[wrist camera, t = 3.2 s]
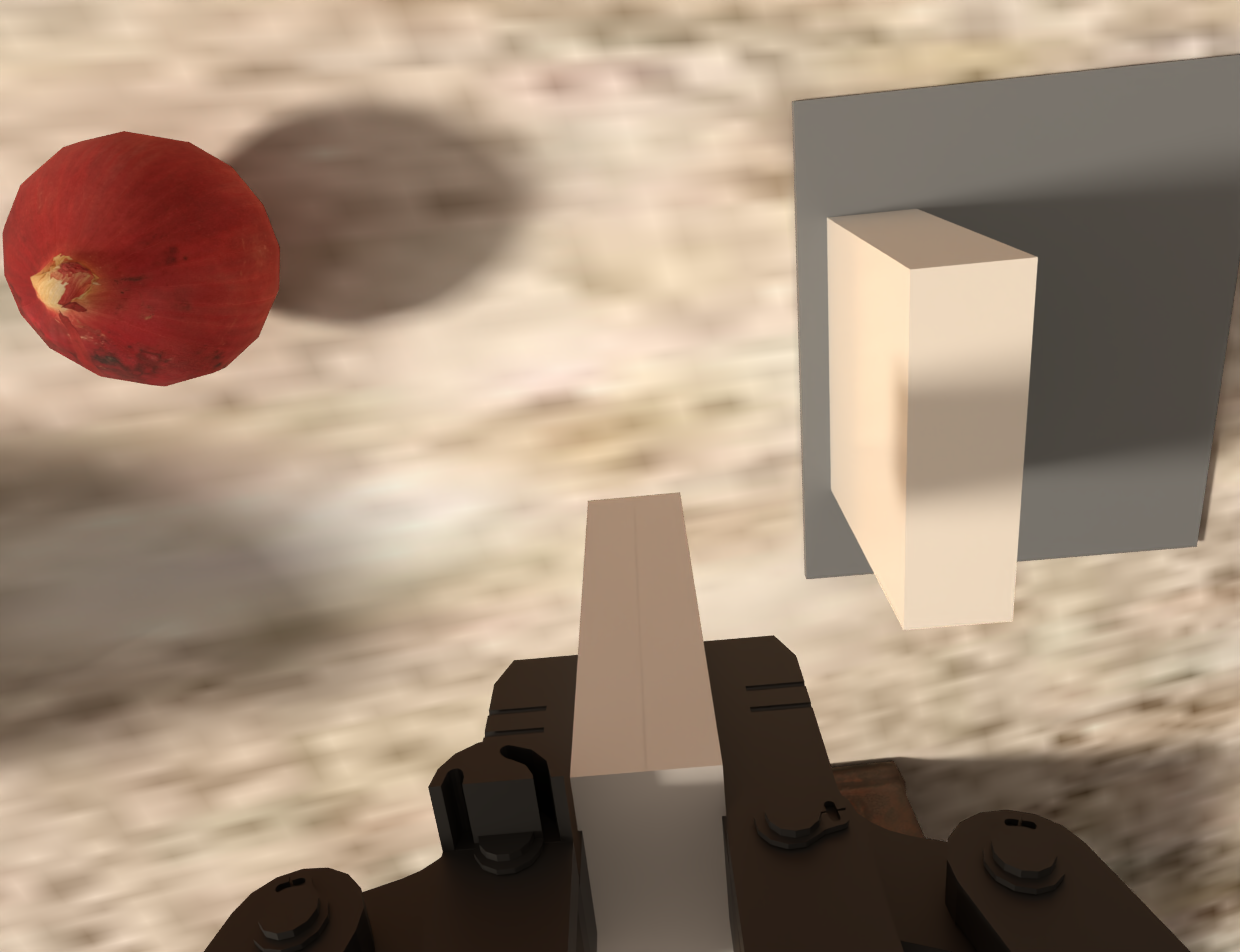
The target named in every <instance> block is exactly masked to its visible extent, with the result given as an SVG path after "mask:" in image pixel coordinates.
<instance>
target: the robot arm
mask: <svg viewBox="0 0 1240 952" xmlns="http://www.w3.org/2000/svg"><path fill="white" fill-rule="evenodd" d="M428 788H429V792H430V797H431V801H432V806H433V810H434V815H435V819H436V823H437V828H438V832H439V837H440V841H441V846H442V850H443V854H442V857H441V858H439V859H438V860H437V861H435V862H434V863H432V864H430V865H429V866H427V867H426V868H424V869H423V870H421V871H419V872H417V873H414V874H412V875H410V876H407V877H405V878H403V879H400V880H397V881H394V882H391V883H388V884H385V885H383V886H380V887H377V888H374V889H371V890H368V891H365V892H362V890H361V888H360V887H359V886H358V884H357V883H356V882H355V881H354V880H353V879H352V878H351V877H350V876H349V875H348V874H346V873H343V872H340V871H337V870H334V869H331V868H311V869H301V870H298V871H295V872H292V873H289V874H286V875H283V876H280V877H277V878H275V879H274V880H272V881H270V882H269V883H267V884H266V885H264V886H262V887H261V888H259V889H258V890H256V891H254V892H253V893H251V894H250V895H249V896H248V897H247V898H246V899H245V901H244V902H243V903H242V904H241V905H240V906H239V907H238V908H237V909H236V910H235V911H234V912H233V913H232V914H231V915H230V917H229V918H228V919H227V921H226V922H225V924H224V925H223V926H222V928H221V929H220V930H219V932H218V933H217V934H216V936H215V937H214V939H213V940H212V941H211V943H210V944H209V945H208V947H207V948H206V949H205V951H204V952H1190V951H1189V950H1188V949H1187V948H1186V947H1185V946H1184V945H1183V944H1182V943H1181V941H1180V940H1179V939H1178V938H1177V937H1176V936H1175V935H1174V934H1173V933H1172V932H1171V931H1170V930H1169V929H1168V928H1167V927H1166V926H1165V925H1164V924H1163V923H1162V922H1161V921H1160V920H1159V919H1158V918H1157V917H1156V916H1155V915H1154V914H1153V913H1152V912H1151V910H1150V909H1149V908H1148V907H1147V906H1146V905H1145V904H1144V903H1143V902H1142V901H1141V900H1140V899H1139V898H1138V897H1137V896H1136V895H1135V894H1134V893H1133V892H1132V891H1131V890H1130V889H1129V888H1128V887H1127V886H1126V885H1125V884H1124V883H1123V882H1122V881H1121V879H1120V878H1119V877H1118V876H1117V875H1116V874H1115V873H1114V872H1113V871H1112V870H1111V869H1110V868H1109V867H1108V866H1107V865H1106V864H1105V863H1104V862H1103V861H1102V860H1101V859H1100V858H1099V857H1098V856H1097V855H1096V854H1095V853H1094V852H1093V851H1092V849H1091V848H1090V847H1089V846H1088V845H1087V844H1086V843H1084V842H1083V841H1082V840H1080V839H1079V838H1078V837H1077V836H1075V835H1074V834H1073V833H1071V832H1070V831H1069V830H1067V829H1066V828H1065V827H1063V826H1062V825H1059V824H1057V823H1054V822H1052V821H1050V820H1047V819H1045V818H1043V817H1040V816H1038V815H1035V814H1030V813H1023V812H1017V811H1011V810H1000V811H991V812H982V813H979V814H977V815H975V816H973V817H970V818H968V819H966V820H964V821H962V822H960V823H959V825H958V826H957V827H956V829H955V830H954V831H953V833H952V834H951V836H950V837H949V838H948V842H943V841H938V840H932V839H926V838H920V837H914V836H909V835H905V834H901V833H898V832H894V831H890V830H887V829H885V828H883V827H881V826H878V825H876V824H874V823H872V822H870V821H868V820H867V819H866V818H864V817H863V816H861V815H860V814H858V813H857V812H856V811H855V809H854V807H853V806H852V804H851V803H850V801H849V800H848V799H847V798H845V797H844V796H842V795H841V793H840V791H839V789H838V787H837V784H836V781H835V778H834V775H833V772H832V768H831V765H830V762H829V759H828V756H827V753H826V749H825V746H824V743H823V740H822V737H821V733H820V730H819V727H818V724H817V721H816V717H815V714H814V711H813V708H812V707H811V702H810V698H809V695H808V692H807V689H806V686H805V685H804V679H803V676H802V673H801V670H800V667H799V663H798V660H797V657H796V655H795V654H793V653H792V652H791V651H790V650H789V649H788V648H787V647H786V646H785V645H784V644H783V643H781V642H780V641H779V640H778V639H777V638H776V637H775V636H774V635H773V636H762V637H750V638H739V639H727V640H715V641H704V642H703V636H702V630H701V623H700V617H699V611H698V604H697V598H696V591H695V585H694V579H693V572H692V566H691V560H690V553H689V547H688V540H687V534H686V528H685V521H684V515H683V508H682V502H681V496H680V493H669V494H658V495H647V496H636V497H625V498H614V499H603V500H592V501H588V510H587V525H586V540H585V555H584V571H583V586H582V601H581V617H580V632H579V647H578V655H572V656H560V657H548V658H537V659H525V660H514V661H513V662H512V664H511V665H510V666H509V667H508V668H507V670H506V671H505V672H504V673H503V675H502V676H501V677H500V678H499V679H498V681H497V682H496V683H495V684H494V689H493V694H492V699H491V704H490V709H489V716H488V719H487V724H486V729H485V738H484V739H483V742H480V743H477V744H475V745H473V746H471V747H468V748H466V749H464V750H462V751H460V752H458V753H456V754H455V755H453V756H452V757H451V758H450V759H449V760H448V761H447V762H445V763H444V764H443V765H442V766H441V767H440V768H439V769H438V770H437V772H436V774H435V776H434V777H433V779H432V781H431V783H430V785H429V787H428Z"/></svg>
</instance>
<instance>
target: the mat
mask: <svg viewBox="0 0 1240 952" xmlns="http://www.w3.org/2000/svg"><path fill="white" fill-rule="evenodd" d="M792 115H793V152H794V189H795V226H796V263H797V301H798V338H799V375H800V412H801V449H802V486H803V523H804V560H805V576H806V579H815V578H827V577H839V576H851V575H863V574H874V572H873V570H872V568H871V566H870V564H869V562H868V560H867V558H866V556H865V555H864V553H863V551H862V549H861V547H860V545H859V543H858V541H857V539H856V537H855V535H854V533H853V531H852V529H851V527H850V525H849V524H848V522H847V520H846V518H845V516H844V514H843V512H842V510H841V508H840V506H839V504H838V502H837V500H836V498H835V496H834V494H833V493H832V491H831V462H830V394H829V325H828V256H827V218H828V217H838V216H848V215H858V214H869V213H879V212H889V211H899V210H909V209H919V210H921V211H924V212H926V213H929V214H931V215H934V216H936V217H939V218H941V219H944V220H946V221H949V222H951V223H954V224H956V225H959V226H961V227H964V228H966V229H969V230H971V231H974V232H976V233H979V234H981V235H984V236H986V237H989V238H991V239H994V240H996V241H999V242H1001V243H1004V244H1006V245H1009V246H1011V247H1014V248H1016V249H1019V250H1021V251H1024V252H1026V253H1029V254H1031V255H1034V256H1036V257H1038V263H1037V277H1036V292H1035V306H1034V321H1033V335H1032V350H1031V364H1030V379H1029V393H1028V408H1027V422H1026V437H1025V451H1024V466H1023V480H1022V494H1021V509H1020V523H1019V538H1018V552H1017V562H1018V561H1030V560H1042V559H1054V558H1066V557H1078V556H1090V555H1102V554H1114V553H1126V552H1138V551H1150V550H1162V549H1174V548H1186V547H1197V542H1198V535H1199V528H1200V522H1201V515H1202V508H1203V502H1204V495H1205V488H1206V482H1207V475H1208V468H1209V461H1210V455H1211V448H1212V441H1213V435H1214V428H1215V421H1216V415H1217V408H1218V401H1219V395H1220V388H1221V381H1222V374H1223V368H1224V361H1225V354H1226V348H1227V341H1228V334H1229V328H1230V321H1231V314H1232V308H1233V301H1234V294H1235V287H1236V281H1237V274H1238V267H1239V261H1240V54H1238V55H1229V56H1219V57H1210V58H1200V59H1191V60H1181V61H1172V62H1162V63H1153V64H1143V65H1134V66H1124V67H1115V68H1105V69H1096V70H1086V71H1077V72H1067V73H1058V74H1048V75H1039V76H1029V77H1020V78H1010V79H1001V80H991V81H982V82H972V83H963V84H953V85H944V86H934V87H925V88H915V89H906V90H896V91H887V92H877V93H867V94H858V95H848V96H839V97H829V98H820V99H810V100H801V101H792Z"/></svg>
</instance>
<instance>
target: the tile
mask: <svg viewBox="0 0 1240 952" xmlns="http://www.w3.org/2000/svg"><path fill="white" fill-rule="evenodd" d="M827 256H828V325H829V394H830V462H831V491H832V493H833V494H834V496H835V498H836V500H837V502H838V504H839V506H840V508H841V510H842V512H843V514H844V516H845V518H846V520H847V522H848V524H849V525H850V527H851V529H852V531H853V533H854V535H855V537H856V539H857V541H858V543H859V545H860V547H861V549H862V551H863V553H864V555H865V556H866V558H867V560H868V562H869V564H870V566H871V568H872V570H873V572H874V574H875V576H876V578H877V580H878V582H879V584H880V586H881V587H882V589H883V591H884V593H885V595H886V597H887V599H888V601H889V603H890V605H891V607H892V609H893V611H894V613H895V615H896V617H897V618H898V620H899V622H900V624H901V626H902V628H903V630H912V629H925V628H937V627H950V626H962V625H974V624H987V623H999V622H1011V621H1013V610H1014V596H1015V581H1016V567H1017V552H1018V538H1019V523H1020V509H1021V494H1022V480H1023V466H1024V451H1025V437H1026V422H1027V408H1028V393H1029V379H1030V364H1031V350H1032V335H1033V321H1034V306H1035V292H1036V277H1037V263H1038V257H1036V256H1034V255H1031V254H1029V253H1026V252H1024V251H1021V250H1019V249H1016V248H1014V247H1011V246H1009V245H1006V244H1004V243H1001V242H999V241H996V240H994V239H991V238H989V237H986V236H984V235H981V234H979V233H976V232H974V231H971V230H969V229H966V228H964V227H961V226H959V225H956V224H954V223H951V222H949V221H946V220H944V219H941V218H939V217H936V216H934V215H931V214H929V213H926V212H924V211H921V210H919V209H909V210H899V211H889V212H879V213H869V214H858V215H848V216H838V217H828V218H827Z"/></svg>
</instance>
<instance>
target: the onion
mask: <svg viewBox="0 0 1240 952" xmlns="http://www.w3.org/2000/svg"><path fill="white" fill-rule="evenodd" d="M3 253H4V275H5V277H6V280H7V282H8V285H9V287H10V289H11V292H12V294H13V297H14V299H15V301H16V304H17V306H18V309H19V311H20V313H21V315H22V316H23V317H24V318H25V320H26V321H27V322H28V323H29V324H30V325H31V327H32V328H33V329H34V330H35V331H36V332H37V334H38V335H39V336H40V337H41V338H42V339H43V341H44V342H45V343H46V344H47V345H48V346H49V348H51V349H53V350H54V351H56V352H58V353H60V354H61V355H63V356H65V357H67V358H69V359H70V360H72V361H74V362H76V363H77V364H79V365H81V366H83V367H85V368H86V369H88V370H90V371H92V372H93V373H95V374H97V375H99V376H102V377H107V378H113V379H119V380H125V381H131V382H137V383H143V384H148V385H156V386H168V385H171V384H175V383H178V382H182V381H186V380H189V379H193V378H196V377H200V376H203V375H207V374H211V373H214V372H216V371H218V370H221V369H223V368H225V367H227V366H228V365H229V364H230V363H231V362H232V361H233V360H234V359H235V358H236V357H237V356H238V355H240V354H241V353H242V352H243V351H244V350H245V349H246V348H247V347H248V346H249V345H250V344H251V343H253V342H254V341H255V340H256V339H257V338H258V337H259V335H260V332H261V330H262V328H263V325H264V323H265V320H266V318H267V316H268V313H269V311H270V309H271V306H272V304H273V302H274V300H275V297H276V295H277V293H278V291H279V271H280V247H279V244H278V242H277V239H276V237H275V234H274V231H273V229H272V226H271V224H270V221H269V218H268V216H267V213H266V211H265V208H264V206H263V204H262V203H261V202H260V200H259V199H258V198H257V197H256V196H255V194H254V193H253V192H252V191H251V189H250V188H249V187H248V186H247V185H246V183H245V182H244V181H243V180H242V179H241V177H240V176H239V175H238V174H237V172H236V171H235V170H234V169H233V168H232V167H231V166H229V165H228V164H226V163H224V162H222V161H221V160H219V159H217V158H216V157H214V156H212V155H210V154H209V153H207V152H205V151H204V150H202V149H200V148H198V147H197V146H195V145H193V144H191V143H190V142H184V141H178V140H173V139H167V138H161V137H155V136H149V135H143V134H137V133H131V132H125V131H123V132H119V133H115V134H110V135H106V136H102V137H98V138H94V139H89V140H85V141H81V142H78V143H75V144H72V145H69V146H66V147H63V148H62V149H61V150H59V151H58V152H57V153H56V154H55V155H54V156H53V157H51V158H50V159H49V160H48V161H47V162H46V163H45V164H43V165H42V166H41V167H40V168H39V169H38V170H37V171H35V172H34V173H33V174H32V175H31V176H30V177H29V178H28V179H27V180H25V181H24V182H23V183H22V184H21V185H20V188H19V190H18V193H17V195H16V198H15V200H14V203H13V206H12V208H11V211H10V213H9V216H8V219H7V221H6V224H5V226H4V230H3Z"/></svg>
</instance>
